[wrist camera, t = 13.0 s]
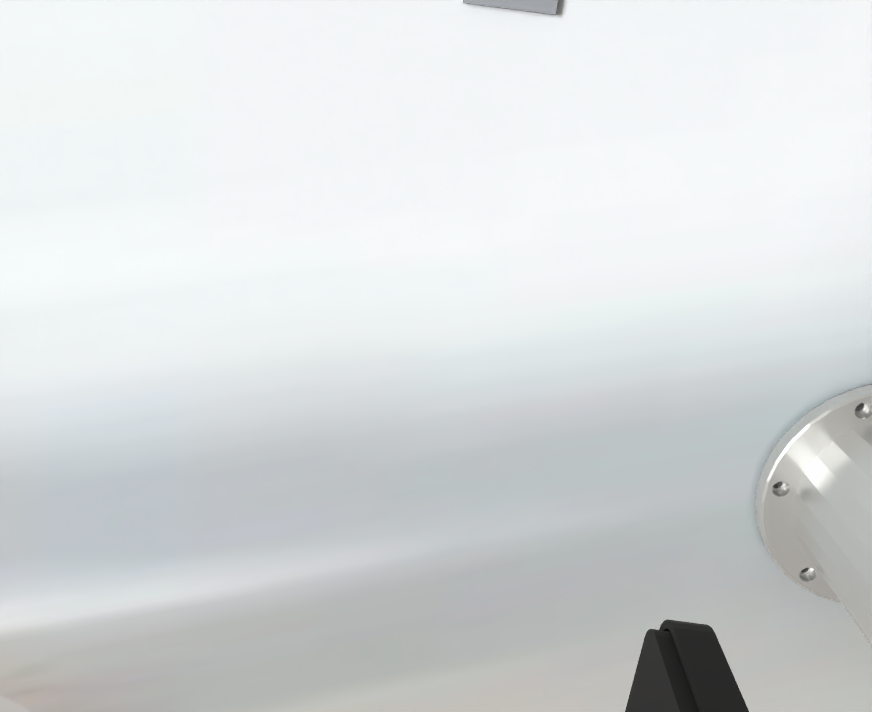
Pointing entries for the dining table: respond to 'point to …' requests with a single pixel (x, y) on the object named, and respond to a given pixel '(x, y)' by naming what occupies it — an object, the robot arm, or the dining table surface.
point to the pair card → (520, 5)
